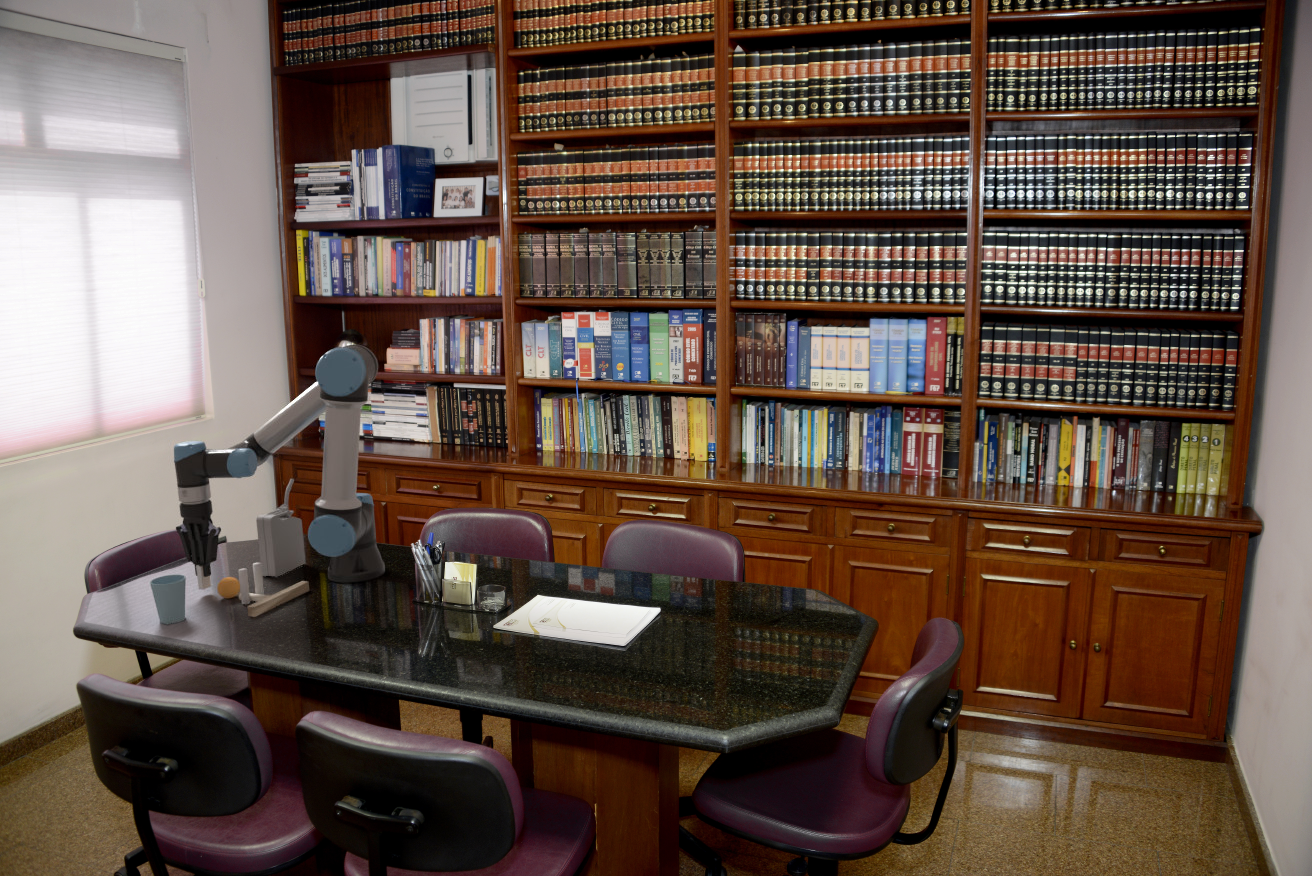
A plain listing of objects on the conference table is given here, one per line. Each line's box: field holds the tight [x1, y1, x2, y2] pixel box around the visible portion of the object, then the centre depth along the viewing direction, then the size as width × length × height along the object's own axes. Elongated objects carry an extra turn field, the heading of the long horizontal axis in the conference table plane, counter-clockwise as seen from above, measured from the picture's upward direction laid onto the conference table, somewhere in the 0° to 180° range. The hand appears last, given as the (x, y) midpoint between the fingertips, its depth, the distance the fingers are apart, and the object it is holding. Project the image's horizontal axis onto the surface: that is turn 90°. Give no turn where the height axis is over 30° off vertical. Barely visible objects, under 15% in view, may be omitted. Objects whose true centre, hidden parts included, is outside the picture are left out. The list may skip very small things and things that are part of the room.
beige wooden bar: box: [247, 580, 310, 618], centre depth 237 cm, size 2×20×2 cm, turn 162°
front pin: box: [238, 592, 272, 603], centre depth 239 cm, size 2×2×9 cm
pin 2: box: [252, 562, 265, 595], centre depth 242 cm, size 2×2×9 cm
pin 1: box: [238, 568, 251, 605], centre depth 237 cm, size 2×2×9 cm
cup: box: [149, 574, 187, 625], centre depth 226 cm, size 8×8×10 cm
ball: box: [216, 576, 241, 599], centre depth 242 cm, size 6×6×6 cm
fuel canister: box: [256, 478, 306, 578], centre depth 264 cm, size 15×5×25 cm, turn 163°
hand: (204, 587), depth 245 cm, fingers closed
